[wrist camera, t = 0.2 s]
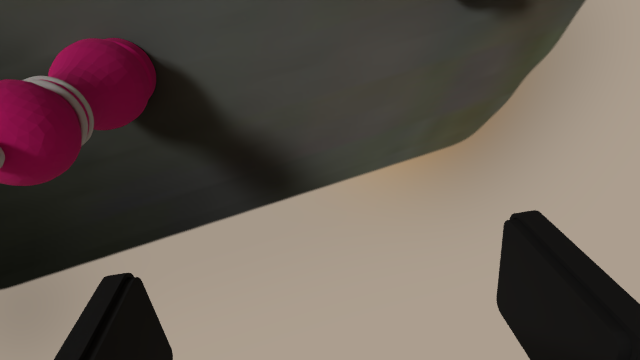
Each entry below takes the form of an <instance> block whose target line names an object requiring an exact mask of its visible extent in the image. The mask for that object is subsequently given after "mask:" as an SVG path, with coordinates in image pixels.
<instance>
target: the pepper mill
mask: <svg viewBox="0 0 640 360" xmlns="http://www.w3.org/2000/svg"><path fill="white" fill-rule="evenodd" d="M155 86H156V72H155V68H154V66H153V64H152V61H151V60H150V58H149V57H148V55H147V54H146V53H145V52H144V51H143V50H142V49H141V48H139V47H138V46H137V45H135V44H133V43H131V42H129V41H127V40H124V39H119V38H108V39H84V40H80V41H77V42H75V43H73V44H71V45H69V46H68V47H66V48H64V49H63V50H62V51H61V52H60V53H59V54H58V55H57V57H56V58H55V60H54V61H53V63H52V65H51V67H50V70H49V74H48V76H35V77H30V78H27V79H24V80H22V81H21V80H10V79H5V80H0V183H3V184H8V185H14V186H29V185H36V184H41V183H44V182H47V181H50V180H52V179H54V178H55V177H57V176H59V175H61V174H62V173H63V172H65V171H66V170H67V169H69V167H70V166H71V165H72V164H73V162H74V161H75V160H76V158H77V156H78V154H79V151H80V149H81V146H82V145H83V144H85V143H86V142H87V140H88V139H89V138H90V136H91V134H92V132H93V129H95V130H110V129H115V128H119V127H122V126H124V125H127V124H128V123H130V122H131V121H133V120H134V119H136V118H137V117H138V116H139V115H140V114H141V113H142V112H143V110H144V109H145V107H146V105H147V102H148V99H149V98H150V97H151V95H152V94H153V92H154V90H155Z"/></svg>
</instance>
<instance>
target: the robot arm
mask: <svg viewBox="0 0 640 360" xmlns="http://www.w3.org/2000/svg"><path fill="white" fill-rule="evenodd" d="M499 270H500V271H499V279H498V289H497V305H498V308H499V311H500V313H501V315H502V316H503V318H504V319H505V321H506V322H507V324H508V325H509V327H510V329H511V330H512V332H513V333H514V335H515V336H516V338H517V339H518V341H519V343H520V344H521V346H522V347H523V349H524V350H525V352H526V353H527V355H528V357H529V358H530V360H640V304H639V303H638V302H637V301H636V300H634V299H633V298H632V297H631V296H630V295H629V294H628V293H627V292H626V291H625V290H624V289H623V288H621V287H620V286H619V285H618V284H617V283H616V282H615V281H614V280H613V279H612V278H610V276H609V275H607V274H606V273H605V272H604V271H603V270H602V269H601V268H600V267H599V266H598V265H596V263H594V262H593V261H592V260H591V259H590V258H589V257H588V256H587V255H586V254H584V252H582V251H581V250H580V249H579V248H578V247H577V246H576V245H575V244H574V243H573V242H572V241H571V240H569V239H568V238H567V237H566V236H565V235H564V234H563V233H562V232H561V231H560V230H559V229H558V228H556V227H555V226H554V225H553V224H552V223H551V222H550V221H549V220H547V218H546V217H545V216H543V215H542V214H541V213H540V212H539V211H527V212H521V213H514V214H512V215H511V217H510V220H507V221H505V223H504V230H503V239H502V250H501V260H500V269H499ZM54 360H173V355H172V349H171V347H170V345H169V342H168V340H167V338H166V335H165V333H164V331H163V329H162V326H161V324H160V322H159V319H158V317H157V315H156V313H155V310H154V308H153V306H152V303H151V301H150V299H149V297H148V294H147V292H146V290H145V288H144V285H143V283H142V281H141V279H140V278H138V277H136V278H134V276H133V275H132V274H131V273H123V274H117V275H110V276H106V277H104V278H103V280H102V281H101V283H100V284H99V286H98V287H97V289H96V291H95V292H94V294H93V296H92V297H91V299H90V301H89V302H88V304H87V306H86V307H85V309H84V311H83V312H82V314H81V316H80V317H79V319H78V321H77V322H76V324H75V325H74V327H73V329H72V331H71V332H70V334H69V335H68V337H67V339H66V340H65V342H64V344H63V345H62V347H61V349H60V350H59V352H58V354H57V355H56V357H55V359H54Z"/></svg>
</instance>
